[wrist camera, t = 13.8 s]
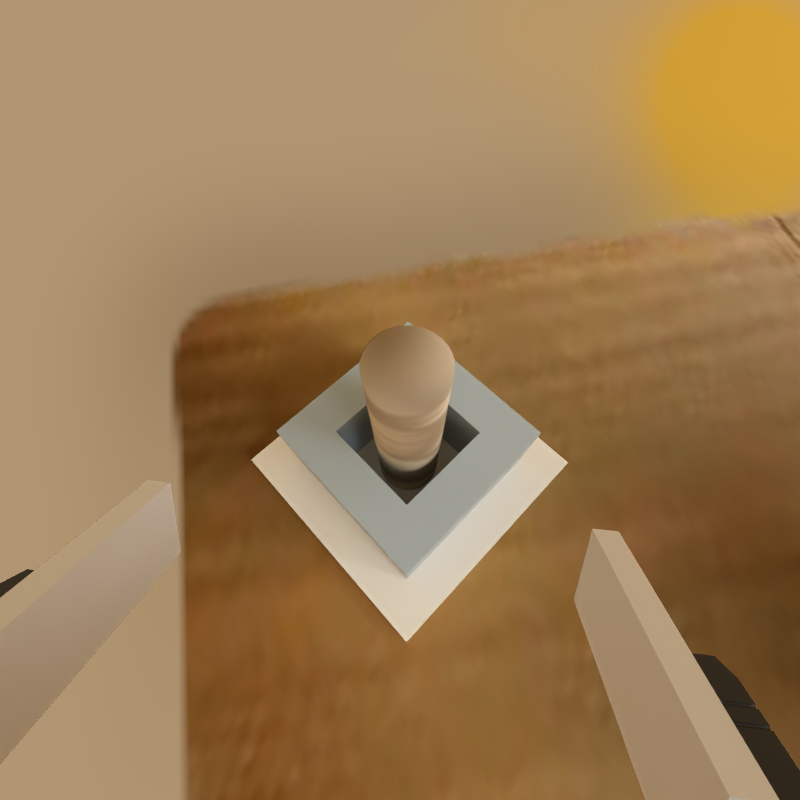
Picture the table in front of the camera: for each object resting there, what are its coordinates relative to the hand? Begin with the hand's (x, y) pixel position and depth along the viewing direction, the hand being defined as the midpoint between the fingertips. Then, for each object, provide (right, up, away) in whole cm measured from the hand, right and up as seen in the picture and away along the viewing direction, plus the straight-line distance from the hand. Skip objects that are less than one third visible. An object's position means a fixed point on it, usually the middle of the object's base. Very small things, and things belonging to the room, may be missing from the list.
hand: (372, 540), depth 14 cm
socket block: (+1, 0, +18) cm, 18 cm away
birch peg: (+1, 0, +17) cm, 17 cm away
